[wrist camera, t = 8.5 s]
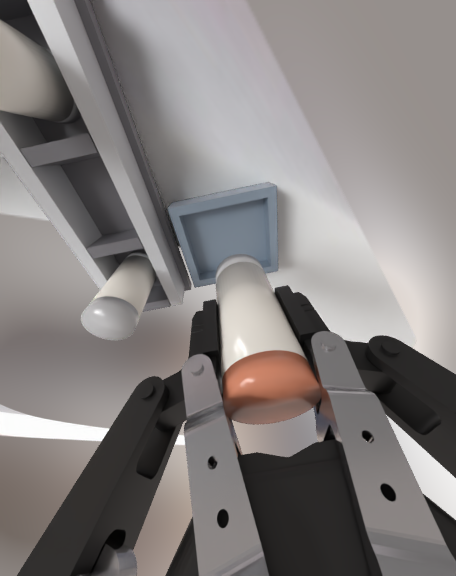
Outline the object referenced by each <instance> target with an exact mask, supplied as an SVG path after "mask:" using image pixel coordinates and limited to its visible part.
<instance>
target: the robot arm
mask: <svg viewBox="0 0 456 576" xmlns="http://www.w3.org/2000/svg"><path fill="white" fill-rule="evenodd" d="M275 295H276V297H277V299H278V301H279V303H280V305H281V307H282V309H283V311H284V313H285V315H286V317H287V319H288V321H289V324H290V326H291V328H292V330H293V332H294V334H295V336H296V338H297V340H298V342H299V344H300V346H301V348H302V350H303V352H304V354H305V357H306V359H307V361H308V363H309V365H310V367H311V369H312V371H313V373H314V375H315V377H316V379H317V381H318V383H319V387H320V392H321V399H320V400H319V402H318V403H317V404H316V405H315V406H314V407H313V408H314V413H315V420H316V432H317V439H318V442H316V443H314V444H312V445H310V446H308V447H307V448H305V449H303V450H301V451H300V452H298V453H296V454H294V455H293V456H291V457H280V456H275V455H269V454H263V453H251V454H245V455H243V454H242V451H241V448H240V445H239V441H238V438H237V436H236V433H235V430H234V426H233V423H232V419H230V418H229V417H228V415H227V412H226V408H225V405H224V401H223V390H222V374H221V354H220V338H219V323H218V307H217V302H216V300H210V301H204V302H203V311H198V312H196V314H195V315H194V317H193V319H192V328H191V340H190V350H189V358H188V360H187V361H186V362H185V363H184V365H183V367H182V369H181V370H180V371H179V372H177V373H176V374H174V375H172V376H170V377H168V378H166V379H164V380H162V379H161V378H159V377H155V376H153V377H149V378H147V379H145V380H143V381H142V382H141V383H140V384H139V385H138V386H137V387H136V388H135V390H134V392H133V393H132V395H131V396H130V398H129V400H128V401H127V402H126V404H125V406H124V407H123V409H122V410H121V412H120V414H119V415H118V417H117V418H116V420H115V421H114V423H113V425H112V426H111V428H110V429H109V431H108V432H107V434H106V436H105V437H104V439H103V440H102V442H101V444H100V445H99V447H98V448H97V450H96V451H95V453H94V455H93V456H92V458H91V459H90V461H89V463H88V464H87V466H86V467H85V469H84V470H83V472H82V474H81V475H80V477H79V478H78V480H77V481H76V483H75V485H74V486H73V488H72V489H71V491H70V493H69V494H68V496H67V497H66V499H65V500H64V502H63V504H62V505H61V507H60V508H59V510H58V511H57V513H56V515H55V516H54V518H53V519H52V521H51V523H50V524H49V526H48V527H47V529H46V530H45V532H44V534H43V535H42V537H41V538H40V540H39V542H38V543H37V545H36V546H35V548H34V549H33V551H32V553H31V554H30V556H29V557H28V559H27V561H26V562H25V564H24V565H23V567H22V568H21V570H20V572H19V573H18V575H17V576H137V561H136V557H135V555H134V552H133V549H134V546H135V544H136V541H137V539H138V536H139V533H140V531H141V529H142V526H143V524H144V521H145V518H146V516H147V513H148V511H149V508H150V506H151V503H152V500H153V498H154V495H155V493H156V490H157V488H158V485H159V483H160V480H161V477H162V475H163V472H164V470H165V467H166V465H167V462H168V459H169V457H170V455H171V452H172V449H173V447H174V444H175V442H176V439H177V437H178V434H179V431H180V429H181V426H182V424H183V422H184V421H186V420H187V422H186V423H185V426H184V437H185V446H186V456H187V464H188V475H189V485H190V494H191V504H192V513H193V517H192V519H191V521H190V523H189V526H188V528H187V530H186V532H185V534H184V536H183V539H182V541H181V543H180V545H179V547H178V549H177V552H176V554H175V556H174V558H173V560H172V563H171V565H170V567H169V569H168V571H167V574H166V576H456V520H455V519H454V518H452V517H451V516H450V515H449V514H447V513H446V512H445V511H444V510H442V509H441V508H440V507H439V506H437V505H436V504H435V503H434V502H433V501H431V500H430V499H429V498H428V497H426V496H425V495H424V494H423V493H422V491H421V489H420V487H419V485H418V483H417V481H416V479H415V476H414V474H413V472H412V470H411V468H410V466H409V463H408V461H407V459H406V457H405V455H404V453H403V451H402V449H401V446H400V444H399V442H398V440H397V438H396V435H395V433H394V431H393V429H392V427H391V425H390V423H389V420H388V418H387V416H388V417H390V418H391V419H392V420H393V421H394V422H395V423H396V424H397V425H398V426H399V427H401V428H402V429H403V430H404V431H405V432H406V433H407V434H408V435H409V436H410V437H412V438H413V439H414V440H415V441H416V442H417V443H418V444H419V445H420V446H421V447H422V448H424V449H425V450H426V451H427V452H428V453H429V454H430V455H431V456H432V457H433V458H434V459H436V460H437V461H438V462H439V463H440V464H441V465H442V466H443V467H444V468H445V469H447V470H448V471H449V472H450V473H451V474H452V475H453V476H454V477H455V478H456V374H454V373H452V372H451V371H449V370H447V369H446V368H444V367H442V366H441V365H439V364H437V363H436V362H434V361H433V360H431V359H429V358H427V357H426V356H424V355H423V354H421V353H419V352H418V351H416V350H414V349H413V348H411V347H409V346H408V345H406V344H404V343H403V342H401V341H399V340H397V339H395V338H392V337H389V336H375V337H373V338H371V339H370V341H369V343H362V342H351V341H346V340H343V339H342V338H341V337H340V336H339V335H337V334H335V333H332V332H330V331H329V329H328V328H327V326H326V325H325V323H324V322H323V321H322V319H321V318H320V316H319V315H318V313H317V312H316V310H314V308H313V306H312V305H311V303H310V302H309V300H308V299H307V297H306V296H304V295H302V294H301V293H299V292H297V293H293V292H292V291H291V289H290V287H289V286H288V285H287V286H282V287H277V288H275ZM386 415H387V416H386ZM366 441H367V442H366Z"/></svg>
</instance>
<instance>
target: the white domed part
mask: <svg viewBox="0 0 456 576" xmlns="http://www.w3.org/2000/svg"><path fill="white" fill-rule="evenodd" d="M0 110H1V111H6V112H10V113H15V114H20V115H24V116H29V117H34V118H39V119H43V120H48V121H53V122H58V123H63V124H71V123H74V122H75V121H77V120H78V119H79V118H80V116H81V113H80V111H79V109H78V107H77V105H76V103H75V101H74V99H73V96H72V94H71V92H70V90H69V88H68V86H67V84H66V82H65V80H64V77H63V75H62V73H61V71H60V69H59V67H58V65H57V63H56V60H55V58H54V56H53V54H52V53H51V52H50V51H48V50H47V49H45V48H44V47H42V46H40V45H39V44H37V43H36V42H34V41H33V40H31V39H30V38H28V37H27V36H25V35H24V34H22V33H21V32H19V31H18V30H16V29H14V28H13V27H11V26H10V25H8V24H7V23H5V22H4V21H2V20H1V19H0Z"/></svg>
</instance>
